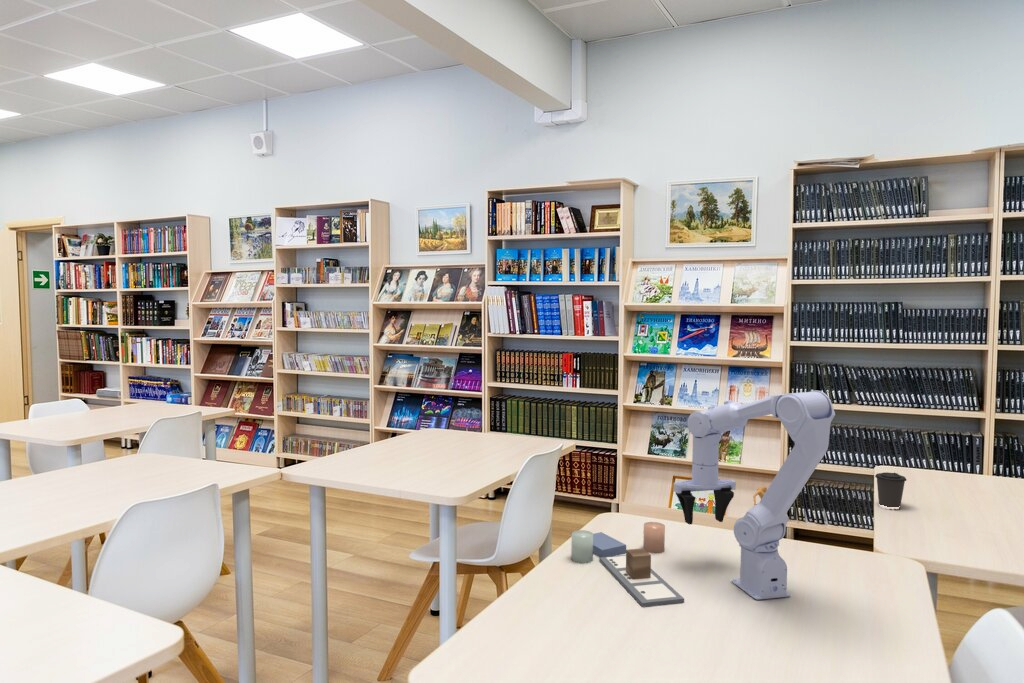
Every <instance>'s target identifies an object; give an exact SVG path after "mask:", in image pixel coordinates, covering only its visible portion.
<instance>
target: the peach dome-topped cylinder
mask: <svg viewBox="0 0 1024 683" xmlns="http://www.w3.org/2000/svg"><path fill="white" fill-rule="evenodd" d="M665 533H666V526H665V524H663V523H661V522H657V521H649V522H648V521H647V522H644V523H643V542H642V543H643V545H642V546H643V548H644V549H645V550H646V551H647V552H648V553H649V554H663V553H664V552H665V538H666V537H665Z"/></svg>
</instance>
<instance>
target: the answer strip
mask: <svg viewBox="0 0 1024 683" xmlns="http://www.w3.org/2000/svg"><path fill="white" fill-rule="evenodd" d="M598 558H599V559H598V560H599V562H600V563H601V564H602V566H603V567H604V568H605V569H606V570H607V571H608V572H609V573H610V574H611V575H612V576H613V577H614V578H615V579H616V580H617V581H618V583H619V584H620V585H621V586H622V587H623V588H624V589H625V591H627V593H629V595H631V596H632V598H633V599H634V600H636V602H637V603H638V604H639V605H640V606H641V607H642V608H645V607H654V606H656V607H657V606H664V605H665V606H666V605H672V604H673V605H675V604H683V603H685V598H684V596H682V594H680V593H679V592H678V591H676V589H674V588H673V587H672V586H671V585H670V584H669V583H668V582H667V581H665V580H664V578H662V576H660V575H659V574H658V573H657V572H655V571H654V569H652V568H651V578H645V579H634V580H633V579H632V578H631V577H630V576H629V575H628V574H627V573H626V554H622V555H616V556H612V557H598Z"/></svg>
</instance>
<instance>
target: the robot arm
mask: <svg viewBox="0 0 1024 683" xmlns="http://www.w3.org/2000/svg"><path fill="white" fill-rule="evenodd" d="M768 415H771V416H772V417H773V418H775V419H778V420H779V421H780V422H781V424H782V426H783V428H784V429H785V430H786V432H787V434H788V435H789V437H790V439H791V440H792V441H793V442H794V445H793V447H792V449H791V451H790V452H789V454H788V455H787V457H786V458H785V460H784V462H783V463H782V465H781V467H780V468H779V470H778V472H777V473H776V475H775V476H774V478H773V479H772V481H771V483H770V484H769V486H768V487H767V491H766V492H765V494H764V496H763V497H762V499H761V498H760V501H759V502H758V503H756V504H757V505H755V506H754V505H753V506H752V507H751V508H750V509H748V510H747V512H746V513H745V515H744V516H742V517H740V518H738V519H736V521H735V522H734V525H733V535H734V538H735V539H736V541H737V543H738V544H739V545H738V546H739V547H740V570H739V571H740V572H739V577H738V578H732V579H731V582H732V583H733V584H735V586H737V587H738V588H740V589H741V590H742V591H744V593H746V594H748V595H749V596H750V597H752V599H754V600H757V601H758V600H759V601H760V600H766V599H767V600H769V599H776V598H778V599H779V598H787V597H791V593H790V592H789V591H787V589H788V588H787V583H788V582H787V581H788V566H787V563H786V562H785V560H784V559H783V558H782V557H781V556H780V553H779V550H778V549H779V548H778V547H779V546H780V540H782V539H783V538H784V537H785V535H786V532H787V531H786V530H787V529H786V527H787V524H788V522H789V521H790V517H789V516H788V514H787V513H788V511H789V509H790V508H791V507H792V505H793V503H794V502H795V501H796V499H797V497H798V496H799V494H800V493H801V491H802V490H803V488H804V487H805V485H806V483H807V482H808V481H809V479H810V477H811V476H812V475H813V473H814V471H815V470H816V469H817V467H818V465H819V464H820V462H821V461H822V459H823V457H825V454H826V453H827V451H828V448H829V444H830V433H831V423H832V421H833V419H834V417H835V416H836V412H835V409H834V406H833V404H832V400H831V399H830V397H829V396H828V395H827V393H825V392H823V391H822V390H810V391H807V392H806V391H802V392H792V393H791V392H790V393H782V394H774V395H769V396H766V397H763V398H761V399H758V400H754V401H752V402H748V403H746V404H742V403H741V402H738V401H733V400H732V399H730V400H729V399H727V400H725V401H723V404H722V405H718V406H715V405H711V406H708V407H707V410H695V411H693V412H692V413H691V414H690V415H689V416H688V418H687V428H688V431H689V432H690V433H691V435H692V453H691V454H692V457H691V459H692V461H691V463H692V464H691V466H692V467H691V479H689V480H684V481H677V482H673V490H672V491H673V492H674V493H675V495H676V497H677V499H678V501H679V503H680V506H681V509H682V512H683V513H682V514H683V517H684V522H685V523H686V524H688V525H692V524H693V520H694V516H693V515H694V508H695V507H694V505H695V501H696V496H694V495H693V493H692V492H705V491H708V492H709V491H713V496H714V519H715V520H716V521H718V522H719V523H723V521H724V518H725V515H726V511H727V509H728V507H729V505H730V503H731V501H732V500H733V498H735V497H734V496H735V492H734V491H735V490H737V486H736V484H737V483H736V482H737V481H735V480H734V479H731V478H730V479H729V478H728V479H727V478H726V479H724V478H723V479H720V478H719V461H720V460H719V458H720V457H719V455H720V454H719V453H720V452H719V450H720V441H721V439H722V437H721V436H722V434H723V433H726V432H729V431H733V430H738V429H741V428H742V429H743V428H744V427H746V425H747V423H748V420H752V419H756V418H761V417H765V416H768ZM733 490H734V491H733Z"/></svg>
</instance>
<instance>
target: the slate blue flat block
mask: <svg viewBox="0 0 1024 683" xmlns="http://www.w3.org/2000/svg"><path fill="white" fill-rule="evenodd" d="M626 550H627V544H625V543H624V542H622V541H619V540H617V539H616V538H613V537H611V536H610V535H607V534H605V533H604V532H602V531H601V532H596V533H593V555H595V556H597V557H598V558H600V557H612V556H622V555H626Z"/></svg>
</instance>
